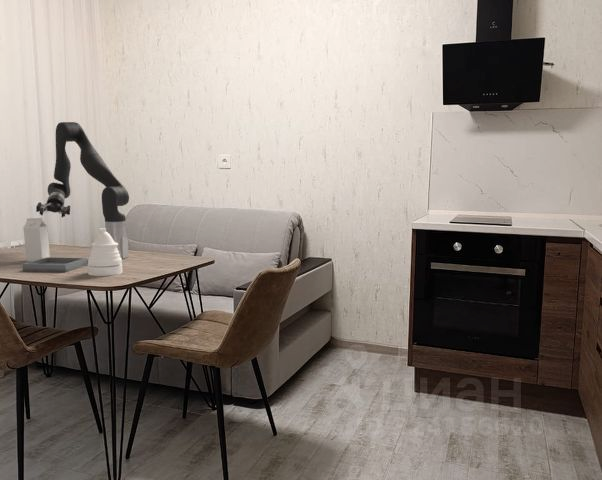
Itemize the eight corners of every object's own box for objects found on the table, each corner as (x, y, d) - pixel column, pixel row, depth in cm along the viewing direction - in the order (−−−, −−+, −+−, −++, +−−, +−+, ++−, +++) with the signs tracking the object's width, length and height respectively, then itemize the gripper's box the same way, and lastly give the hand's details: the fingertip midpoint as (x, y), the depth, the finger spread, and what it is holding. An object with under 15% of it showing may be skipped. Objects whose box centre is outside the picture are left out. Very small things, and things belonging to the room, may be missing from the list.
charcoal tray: (87, 264, 238) (86, 258, 238) (65, 272, 221) (65, 264, 220) (47, 263, 240) (46, 257, 240) (22, 271, 222) (22, 263, 222)
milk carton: (34, 259, 251) (30, 218, 249) (50, 259, 251) (46, 217, 249) (26, 261, 244) (22, 219, 242) (42, 261, 244) (38, 218, 242)
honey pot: (117, 275, 214) (116, 229, 212) (83, 276, 213) (81, 229, 211) (125, 270, 227) (124, 226, 225) (93, 270, 226) (92, 226, 224)
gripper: (39, 192, 260) (35, 205, 246) (72, 196, 265) (69, 208, 251) (39, 207, 263) (34, 220, 249) (71, 210, 268) (68, 223, 254)
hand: (52, 214), depth 250 cm, fingers open, 8 cm apart
